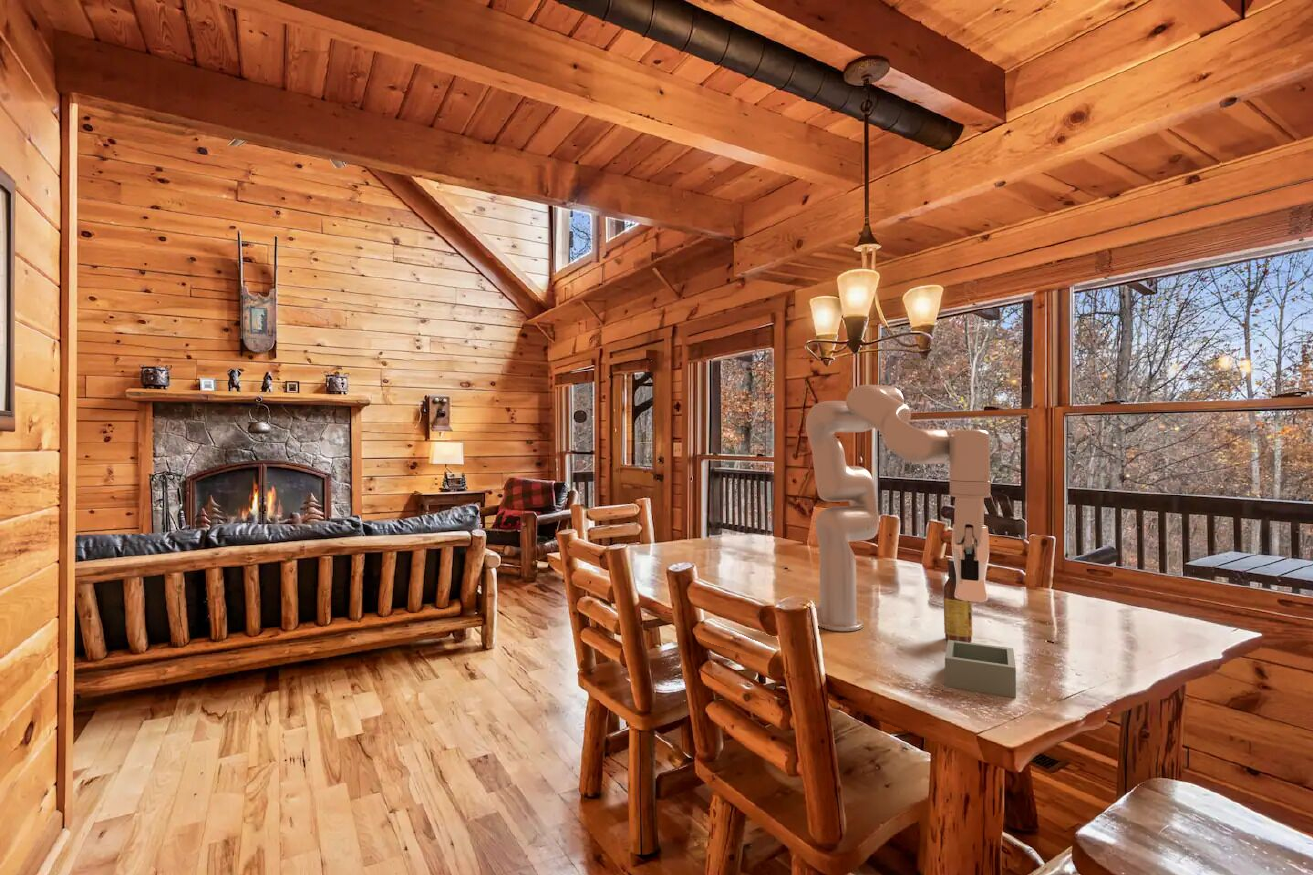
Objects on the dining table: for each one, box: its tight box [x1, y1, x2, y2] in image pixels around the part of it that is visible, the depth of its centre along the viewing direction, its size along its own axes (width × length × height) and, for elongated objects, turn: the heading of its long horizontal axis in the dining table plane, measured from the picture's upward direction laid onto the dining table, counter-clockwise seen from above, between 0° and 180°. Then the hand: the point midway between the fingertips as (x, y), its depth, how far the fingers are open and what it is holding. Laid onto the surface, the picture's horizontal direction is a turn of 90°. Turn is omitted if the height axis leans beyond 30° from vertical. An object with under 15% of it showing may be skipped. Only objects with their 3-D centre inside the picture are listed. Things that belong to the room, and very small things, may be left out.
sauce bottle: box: [943, 558, 973, 643], centre depth 154 cm, size 6×6×20 cm
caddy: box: [944, 640, 1017, 699], centre depth 128 cm, size 12×12×6 cm
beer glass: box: [951, 523, 990, 603], centre depth 128 cm, size 7×7×15 cm
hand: (970, 575), depth 129 cm, fingers closed on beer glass, 6 cm apart
